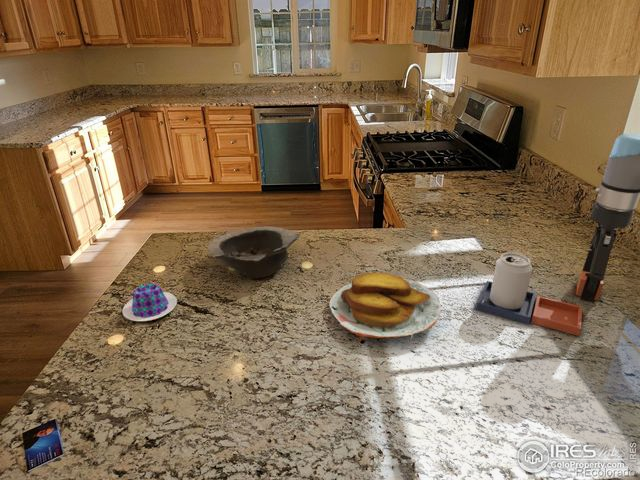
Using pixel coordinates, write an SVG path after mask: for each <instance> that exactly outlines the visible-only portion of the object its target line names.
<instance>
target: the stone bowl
mask: <svg viewBox="0 0 640 480" xmlns="http://www.w3.org/2000/svg"><path fill="white" fill-rule="evenodd" d="M300 236H301V233H300V232H299V233H297V232H296V233H294V231H293V230H290V229H286V228H282V227H277V226H266V225H264V226H255V227H253V226H252V227H247V228H243V229H238V230H237V229H236V230H233V231H228V232H227V233H225V234H221V235H219V236H216V237H215V238H213V239H212V240H211V241H210V242H209V243H208V244H207V245H206V250H207V252H208V253H209V254H210V255H211V256H212V257H213V258H217V259H221V261H222V262H223V263H224V264H225V265H226V266H227V267H229V268H230V269H233V270H234V271H236V272H237V273H240V274H245V277H246V278H247V280H256V279H262V278H267V277H269V276H271V275H272V274H276V273H278V272H279V271H280V270H282V267H283V264H284V263H286V261H287V259H288V251H287V249H288V248H289V247H291V245H292V244H294V243H295V242H297V240H298V239H299V238H300Z"/></svg>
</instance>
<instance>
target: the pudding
mask: <svg viewBox="0 0 640 480" xmlns="http://www.w3.org/2000/svg"><path fill="white" fill-rule="evenodd" d="M177 304H178V299H177V297H176V295H174V294H172V293H170V292H167V291H163V289H162V287H161V286H159V285H158V284H157V283H145V284H143V285H139V286H138V287H136V289H135V290H133V292H132V298H131V299H130V300H128V301H127V302H126V303H125V304H124V306H123V308H122V315H123V316H124V318H126V320H127V319H128V320H130V321H133V322H148V321H152V320H156V319H160V318H162V317H164V316H166V315H168V314H169V313H171V312H172V311H173V310H174V309H175V307H176V306H177Z"/></svg>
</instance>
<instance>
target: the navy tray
mask: <svg viewBox="0 0 640 480" xmlns="http://www.w3.org/2000/svg"><path fill="white" fill-rule="evenodd" d="M492 282H493V281H490V280H486V282H485V284H484V287H483V289H482V291H481V294H480V295H479V298H478V300H477V302H476V307H475V310H476V311H479V312H483V313H487V314H490V315H494V316H497V317H501V318H505V319H508V320H510V321H514V322H517V323H522V324H525V325H529V324H530V322H531V321H530V320H531V318H532V317H531V316H532V314H533V313H532V312H533V308H534V304H535V301H536V300H535V299H536V295H537V293H536V292H533V291H530V290H527V293H526V297H525V302H524V305H523V306H522V307H521V308H519V309H516V310H506V309H503V308H499V307H497V306H496V305H495V304H494V303H493V302H492V301H491V300H490V292H491V287H492Z"/></svg>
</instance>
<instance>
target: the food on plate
mask: <svg viewBox="0 0 640 480" xmlns="http://www.w3.org/2000/svg"><path fill="white" fill-rule="evenodd" d="M328 307H329V308H330V310H331V313H332V314H333V316H334V317H335V318H336V320H337V321H338V322H339V323H338V324H339V325H340V326H341V327H342V328H344V329H346V330H347V331H350V334H355V335H356V336H358V338H357V340H358V341H360V342H361V341H363V337H366V338H375V339H384V338H386V339H389V338H393V339H394V338H395V339H396V338H400V337H407V336H410V340H412V339H413V337H414V334H418V333H420V332H424V331H425V332H426V330H427V329H433V327H434V326H435V325H436V324H437V322H438V320H439V318H440V317H441V313H442V312H443V310H442V303H441V301H440V298H439V296H437V294H436V293H434V292H433V290H431V289H429V288H428V287H427V286H425V285H424V284H423V285H422V283H419V282H417V281H414V280H411V279H409V278H404V277H402V276H399V275H396V274H391V273H388V272H375V271H374V272H366V273H361V274H359V275H356V276H354V278H352V280H351V282H350V283H347V284H345V285H344V286H341V287H340V288H339V289H338V290H337V291H336V292H335V293H334V294H333V295H331V298H330V299H329V301H328ZM331 323H332V324H334V322H333V321H331Z"/></svg>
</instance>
